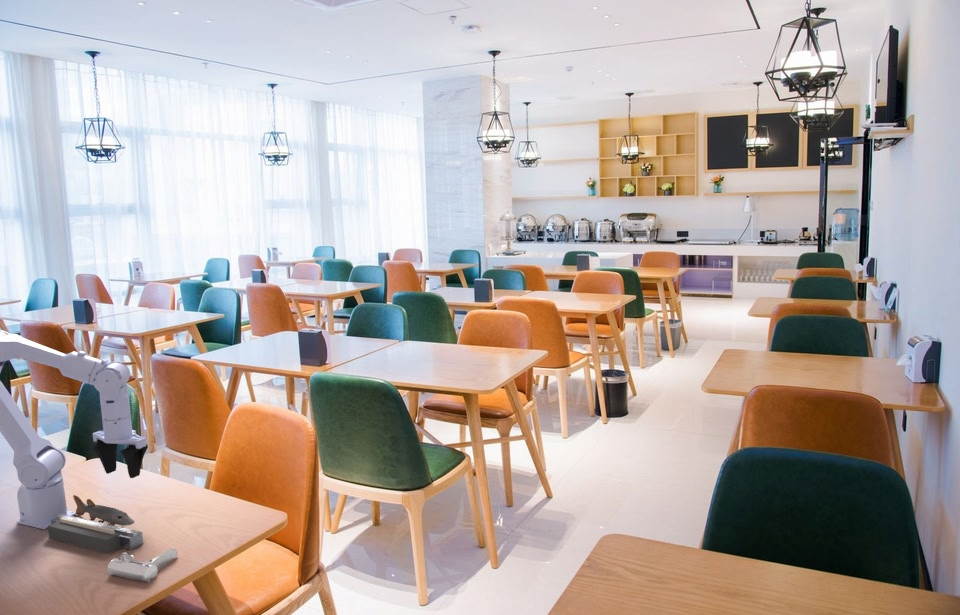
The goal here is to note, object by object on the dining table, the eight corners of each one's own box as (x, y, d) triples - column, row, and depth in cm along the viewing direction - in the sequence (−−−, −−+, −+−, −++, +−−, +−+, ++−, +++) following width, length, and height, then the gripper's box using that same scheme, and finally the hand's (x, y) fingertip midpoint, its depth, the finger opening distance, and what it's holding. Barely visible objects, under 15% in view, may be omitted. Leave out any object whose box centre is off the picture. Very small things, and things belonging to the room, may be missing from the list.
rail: (52, 530, 152) (50, 517, 152) (65, 524, 155) (63, 512, 155) (131, 550, 143) (129, 536, 142) (143, 543, 145) (141, 529, 145)
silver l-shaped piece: (107, 578, 133) (144, 585, 130) (106, 555, 132) (143, 562, 129) (148, 554, 142) (184, 561, 139) (147, 533, 142) (182, 539, 139)
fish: (125, 537, 149) (122, 515, 148) (65, 519, 158) (63, 498, 158) (143, 528, 152) (141, 507, 152) (84, 511, 162) (82, 490, 161)
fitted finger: (49, 539, 149) (47, 522, 148) (61, 533, 151) (59, 516, 150) (108, 553, 141) (106, 536, 141) (120, 547, 144) (118, 530, 143)
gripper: (154, 414, 158) (160, 472, 160) (109, 408, 163) (115, 463, 165) (127, 424, 151) (134, 483, 153) (81, 417, 157) (88, 474, 159)
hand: (122, 474), depth 159 cm, fingers open, 7 cm apart
